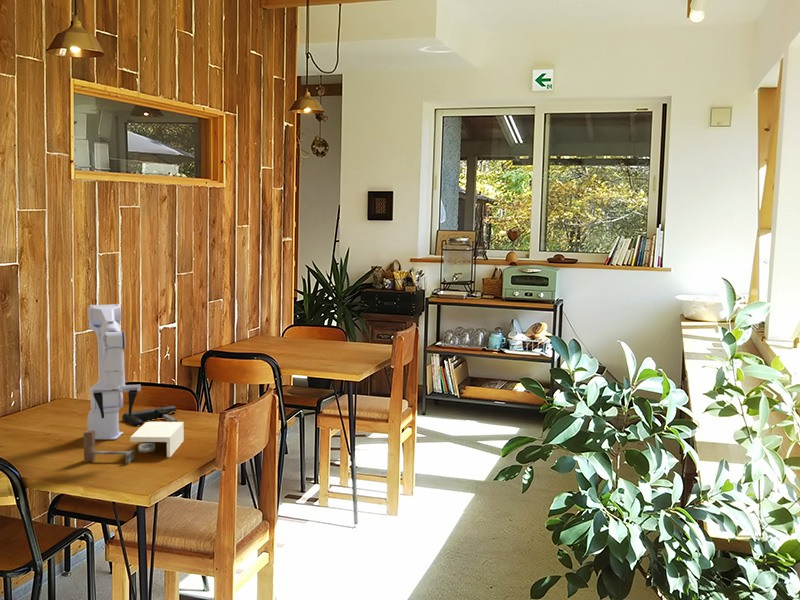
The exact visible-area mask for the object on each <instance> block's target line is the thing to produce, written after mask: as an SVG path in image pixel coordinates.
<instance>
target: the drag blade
mask: <svg viewBox="0 0 800 600" xmlns="http://www.w3.org/2000/svg"><path fill="white" fill-rule="evenodd" d="M135 451H136V450H135V448H131V449H130V450H129V451H128V450H126V451H123V450H122V451H117V450H107V451H105V450H96V439H95V430H88V429H86V430H85V431H84V432H83V460H84V461H93V462H94V461H95V460H96V455H124V456H125V460H124V462H125V465H130V464H131V462H133V460H135V458H136V455H135V453H136V452H135ZM84 461H83V462H84Z"/></svg>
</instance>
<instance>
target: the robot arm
mask: <svg viewBox="0 0 800 600" xmlns="http://www.w3.org/2000/svg"><path fill="white" fill-rule="evenodd" d="M87 316H88V317H87V319H88V327H89V330H91V331H93V332H95V335H96V338H97V341H96V342H97V359H98V360H97V361H98V362H97V363H98V364H97V365H98V381H97V382H96V383H95V384H93V385H92V386H91V387H89V389H88V390H89V396H90V409H91V410H89V412H88V415H87V430H95V440H117V439H118V438H120V436H121V434H122V435H123V434H124V432H123V431H120V425H119V424H120V422H119V421H120V419H119V413H120V409H122V408H123V407H124V395H123V393H128V413H129V416H131V412H133V411H132V410H133V407H134V403H135V400H136V398H137V395H138V392H141V391H142V390H141V389H142V386H141V383H140V384H126V375H125V374H126V373H125V372H126V371H125V370H126V369H125V350H126V334H125V331H124V330H121V328H120V324H121V321H122V308H121V305H120V304H119V303H114V304H89V306H88V308H87Z"/></svg>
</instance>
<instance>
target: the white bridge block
mask: <svg viewBox="0 0 800 600" xmlns="http://www.w3.org/2000/svg"><path fill="white" fill-rule="evenodd" d="M184 422H185V421H177V422H168V421H148V422H144V424H143V425H142V426H139V427H138V429H137V430H136V431H135V432H134V433H132V435H131V436H130V437H129V438H130V439H129V441H130V442H131V443H133V442H134V443H135V442H136V443H138V442H139V443H166V458H171V457H172V456H173V454H175V452H176V451H177V449H178V448H179V447H180V446H181V445H182V444H181V443H183V442H184V441H185V440H184V438H185V435H184V433H185V431H184V429H185V428H184V427H185V426H184Z"/></svg>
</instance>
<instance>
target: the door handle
mask: <svg viewBox="0 0 800 600" xmlns="http://www.w3.org/2000/svg"><path fill="white" fill-rule="evenodd" d="M172 411H176V412H177V407H176V406H175V405H169V406H163V407H155V408H149V409H143V410H137V411H132V412H131V416H129V412H125V413H122V416H121V419H122V420H123V421H124V420H125V421H124V422H127V423H129V424H130V425H132V426H133V425H134V426H133V427H138V426H137V425H142V424H145V422H143V421H147V420H152V419H157V418H165V419H167V420H169V421H171V422H176V421H177V422H178V419H176V418H175V417H173V416H171V414H168V413H170V412H172Z"/></svg>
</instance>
